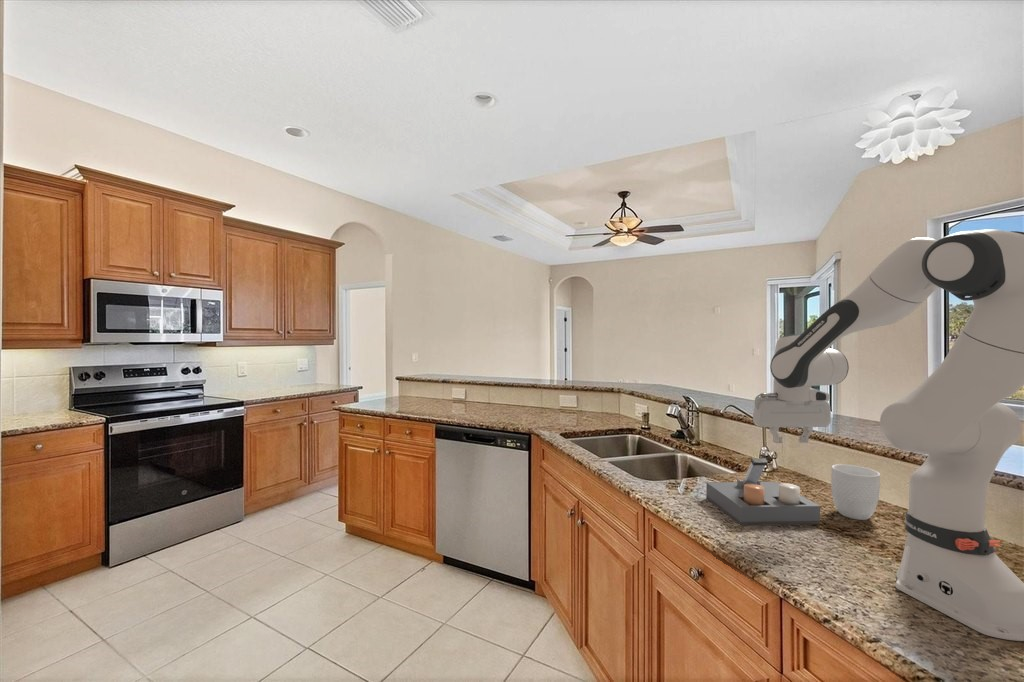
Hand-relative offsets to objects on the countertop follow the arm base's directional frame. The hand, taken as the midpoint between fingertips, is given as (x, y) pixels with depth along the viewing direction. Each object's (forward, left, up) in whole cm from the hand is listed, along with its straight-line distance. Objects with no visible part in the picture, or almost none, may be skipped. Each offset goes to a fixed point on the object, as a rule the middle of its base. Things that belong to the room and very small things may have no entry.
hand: (790, 442), depth 124 cm
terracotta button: (0, +10, -17) cm, 20 cm away
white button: (0, 0, -17) cm, 17 cm away
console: (+5, +5, -21) cm, 22 cm away
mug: (+2, -21, -22) cm, 30 cm away
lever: (+11, +5, -16) cm, 20 cm away
